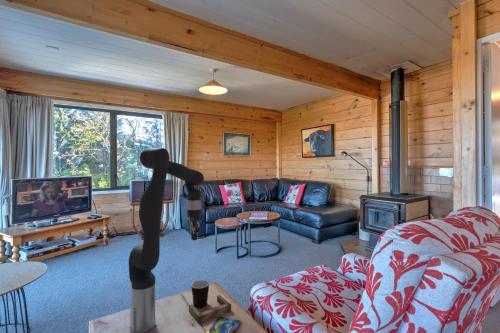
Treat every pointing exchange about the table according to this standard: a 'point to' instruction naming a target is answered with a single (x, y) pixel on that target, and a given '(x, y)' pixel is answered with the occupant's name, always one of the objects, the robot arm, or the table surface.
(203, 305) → the coffee mug
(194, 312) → the walnut corral
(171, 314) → the table surface
